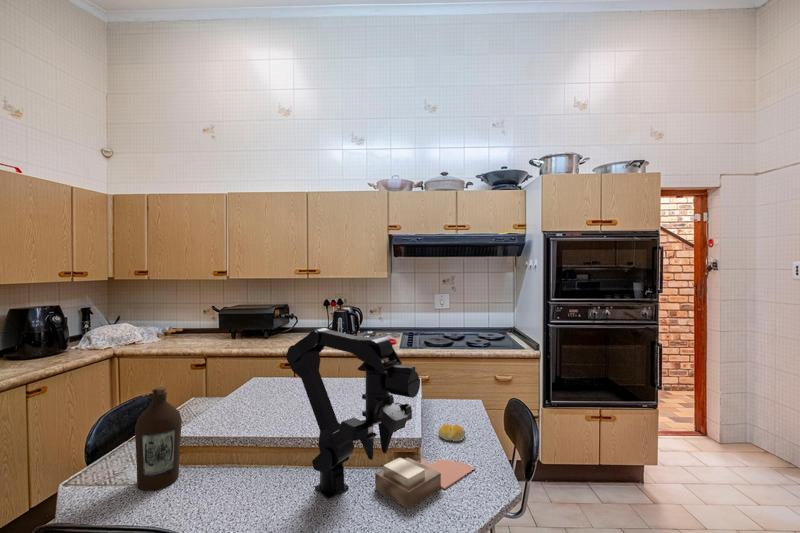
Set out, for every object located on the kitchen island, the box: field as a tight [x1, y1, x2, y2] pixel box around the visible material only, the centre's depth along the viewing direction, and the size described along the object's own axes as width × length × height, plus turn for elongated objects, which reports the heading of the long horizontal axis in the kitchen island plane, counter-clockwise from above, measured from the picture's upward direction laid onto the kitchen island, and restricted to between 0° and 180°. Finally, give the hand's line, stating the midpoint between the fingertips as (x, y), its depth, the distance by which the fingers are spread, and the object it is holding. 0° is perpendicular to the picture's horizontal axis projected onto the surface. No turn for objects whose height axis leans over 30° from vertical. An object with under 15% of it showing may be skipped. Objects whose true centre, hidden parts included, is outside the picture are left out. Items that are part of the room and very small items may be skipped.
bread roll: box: [437, 423, 466, 441], centre depth 128 cm, size 8×9×4 cm
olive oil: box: [134, 386, 183, 492], centre depth 101 cm, size 11×11×25 cm
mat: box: [421, 457, 476, 490], centre depth 106 cm, size 14×14×1 cm
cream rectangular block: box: [382, 457, 425, 487], centre depth 96 cm, size 9×6×2 cm, turn 45°
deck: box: [374, 457, 442, 510], centre depth 97 cm, size 12×12×4 cm
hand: (377, 455), depth 89 cm, fingers open, 4 cm apart
